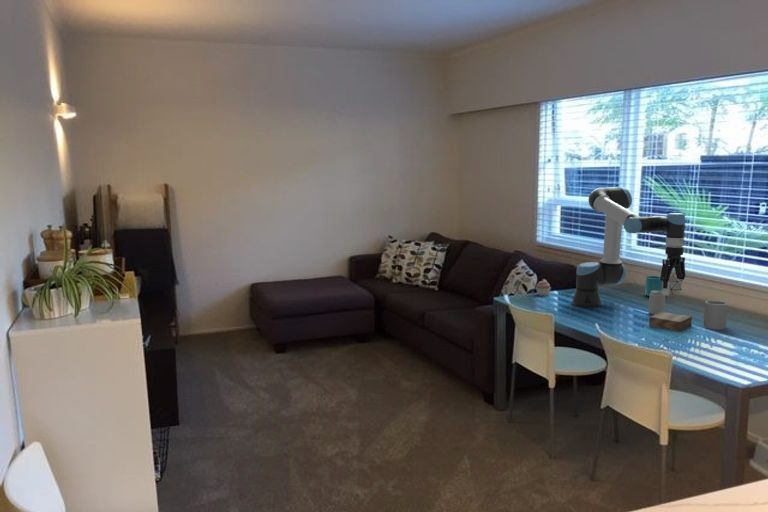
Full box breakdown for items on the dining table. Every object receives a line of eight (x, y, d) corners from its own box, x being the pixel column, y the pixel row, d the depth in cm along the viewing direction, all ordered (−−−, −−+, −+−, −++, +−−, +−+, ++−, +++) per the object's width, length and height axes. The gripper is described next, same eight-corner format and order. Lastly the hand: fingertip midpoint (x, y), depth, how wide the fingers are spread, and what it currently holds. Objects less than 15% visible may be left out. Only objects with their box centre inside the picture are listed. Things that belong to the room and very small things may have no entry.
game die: (658, 292, 286) (659, 272, 284) (675, 292, 287) (676, 271, 285) (668, 296, 277) (669, 275, 276) (686, 296, 278) (687, 275, 276)
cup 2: (725, 331, 274) (726, 305, 272) (702, 328, 279) (704, 303, 277) (726, 326, 282) (727, 301, 280) (704, 324, 287) (705, 299, 285)
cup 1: (670, 297, 344) (671, 278, 342) (649, 297, 344) (650, 278, 342) (662, 294, 353) (663, 275, 351) (642, 294, 352) (643, 275, 351)
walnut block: (649, 327, 285) (649, 316, 284) (661, 321, 294) (661, 311, 293) (679, 332, 275) (680, 322, 274) (691, 326, 284) (691, 316, 283)
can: (666, 316, 303) (667, 292, 301) (650, 315, 304) (651, 292, 302) (662, 312, 310) (663, 289, 308) (647, 312, 311) (648, 289, 310)
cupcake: (534, 293, 361) (534, 277, 359) (550, 293, 359) (550, 277, 358) (536, 296, 351) (536, 280, 350) (552, 297, 350) (552, 280, 349)
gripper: (667, 249, 270) (665, 298, 273) (695, 245, 281) (693, 292, 284) (652, 247, 277) (650, 295, 280) (681, 243, 287) (678, 289, 290)
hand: (671, 293), depth 282 cm, fingers closed on game die, 8 cm apart
